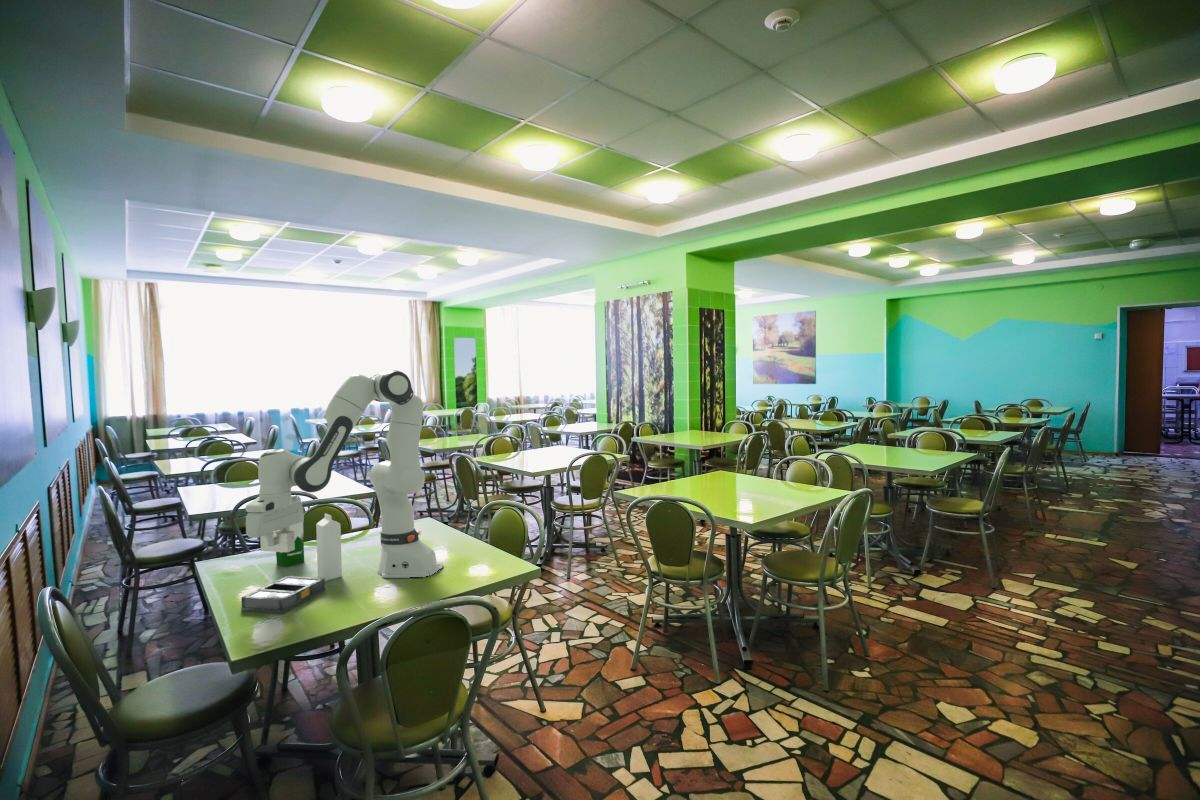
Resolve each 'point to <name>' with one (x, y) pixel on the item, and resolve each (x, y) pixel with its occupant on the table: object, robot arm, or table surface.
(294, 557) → the milk carton
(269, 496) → the robot arm
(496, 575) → the table surface
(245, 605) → the tray
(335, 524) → the milk
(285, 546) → the white rectangular block
